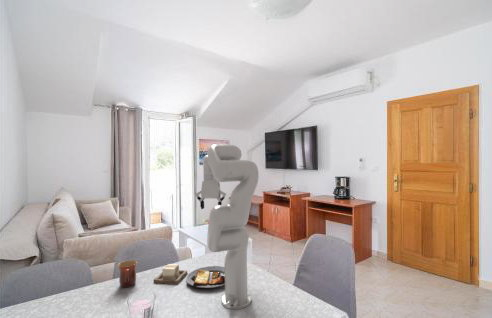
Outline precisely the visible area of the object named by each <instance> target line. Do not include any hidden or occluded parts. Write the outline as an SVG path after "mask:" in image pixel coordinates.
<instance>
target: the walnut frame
mask: <svg viewBox="0 0 492 318" xmlns="http://www.w3.org/2000/svg"><path fill="white" fill-rule="evenodd" d="M187 275H188V270H183V269H179V277H178V278H177V279H176V280H168V279H163V271H162V272H161V273H159V275H157V276H156V277H154V279H153V284H167V285H178V284H179V283H180V282H181V281H182V280H183V279H184V278H185V277H186V276H187Z"/></svg>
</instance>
